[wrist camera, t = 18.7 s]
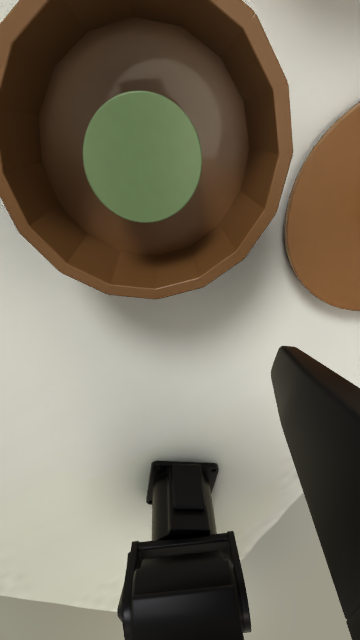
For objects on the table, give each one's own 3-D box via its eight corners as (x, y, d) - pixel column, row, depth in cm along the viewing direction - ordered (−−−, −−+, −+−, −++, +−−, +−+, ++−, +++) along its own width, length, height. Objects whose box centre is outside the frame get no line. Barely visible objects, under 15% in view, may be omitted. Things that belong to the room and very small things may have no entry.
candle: (185, 209, 19) (192, 229, 15) (99, 197, 18) (82, 215, 15) (200, 108, 17) (212, 102, 13) (100, 91, 16) (81, 79, 12)
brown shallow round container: (230, 270, 22) (250, 309, 17) (40, 249, 20) (3, 284, 15) (285, 32, 15) (339, -10, 11) (18, -22, 14) (-52, -97, 9)
